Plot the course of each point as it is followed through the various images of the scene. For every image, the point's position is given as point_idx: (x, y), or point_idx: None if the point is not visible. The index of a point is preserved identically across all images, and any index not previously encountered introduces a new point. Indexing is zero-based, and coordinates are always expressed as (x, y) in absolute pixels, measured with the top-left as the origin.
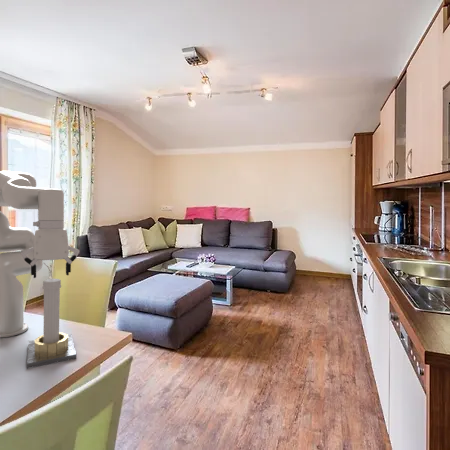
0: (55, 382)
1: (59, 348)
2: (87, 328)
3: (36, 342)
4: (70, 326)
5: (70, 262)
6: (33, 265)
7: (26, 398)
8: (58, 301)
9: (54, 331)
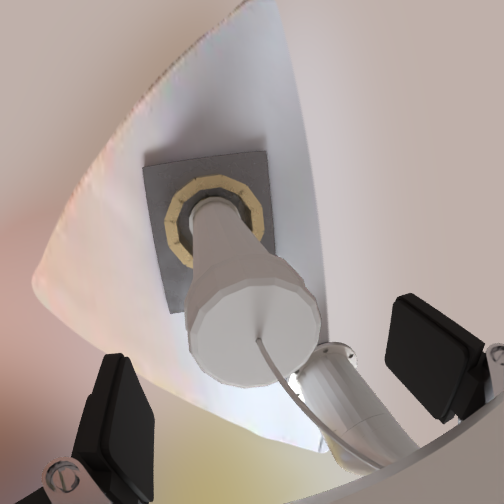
0: (190, 59)
1: (187, 183)
2: (139, 357)
3: (257, 207)
4: (186, 378)
5: (62, 473)
6: (485, 354)
7: (245, 23)
8: (196, 257)
9: (206, 210)
